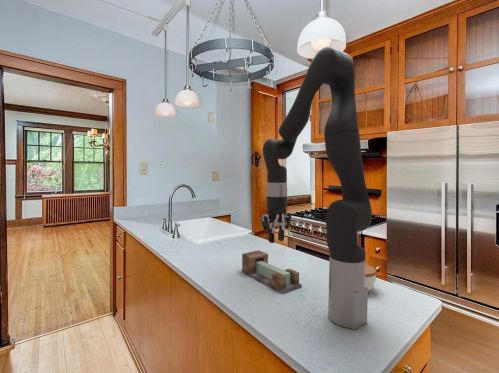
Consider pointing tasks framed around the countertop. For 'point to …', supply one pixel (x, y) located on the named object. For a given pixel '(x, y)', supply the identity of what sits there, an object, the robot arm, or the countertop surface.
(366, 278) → the lidded jar
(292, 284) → the holder
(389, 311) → the countertop surface
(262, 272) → the slat
